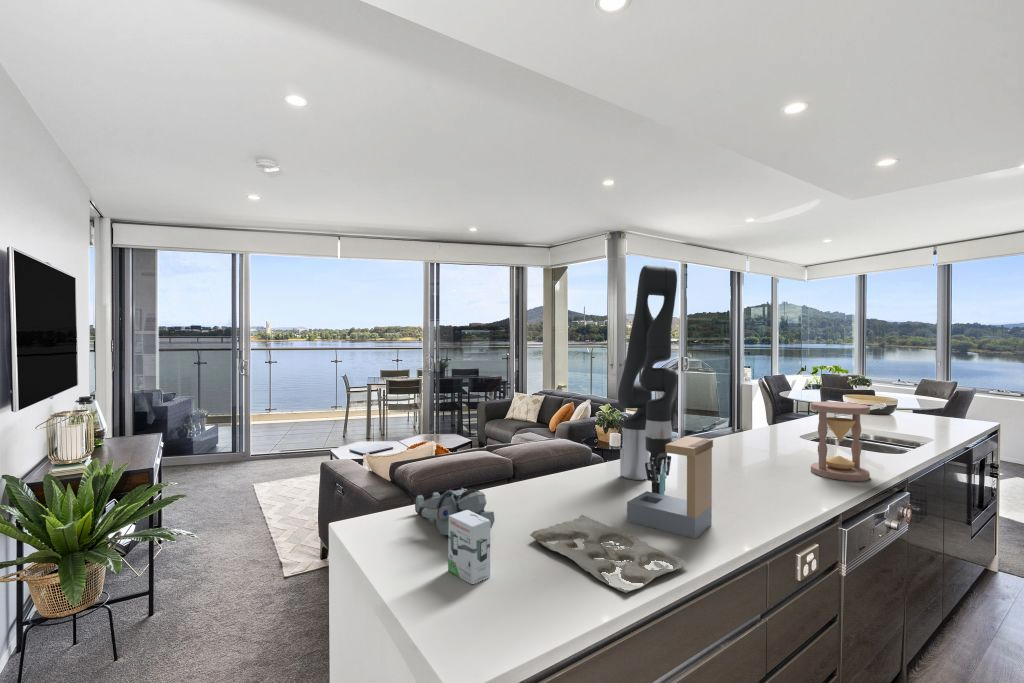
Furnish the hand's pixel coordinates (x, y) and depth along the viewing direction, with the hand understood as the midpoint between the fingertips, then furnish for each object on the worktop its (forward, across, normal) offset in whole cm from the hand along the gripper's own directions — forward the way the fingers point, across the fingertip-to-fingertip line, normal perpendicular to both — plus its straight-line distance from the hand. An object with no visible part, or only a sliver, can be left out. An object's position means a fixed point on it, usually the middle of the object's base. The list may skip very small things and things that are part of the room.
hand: (658, 492), depth 145 cm
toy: (+3, +54, -32) cm, 63 cm away
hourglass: (+3, -70, +37) cm, 79 cm away
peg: (+3, 0, 0) cm, 3 cm away
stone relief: (+3, +42, +5) cm, 42 cm away
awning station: (+3, +14, +9) cm, 17 cm away
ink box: (+3, +68, -11) cm, 69 cm away
